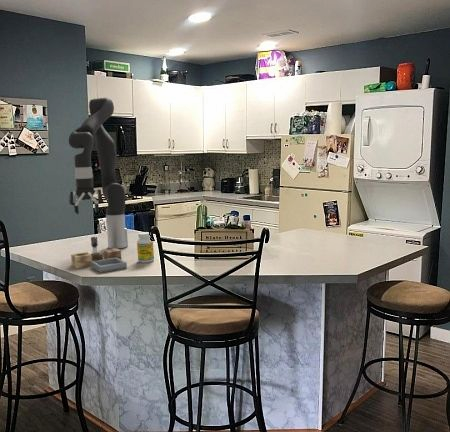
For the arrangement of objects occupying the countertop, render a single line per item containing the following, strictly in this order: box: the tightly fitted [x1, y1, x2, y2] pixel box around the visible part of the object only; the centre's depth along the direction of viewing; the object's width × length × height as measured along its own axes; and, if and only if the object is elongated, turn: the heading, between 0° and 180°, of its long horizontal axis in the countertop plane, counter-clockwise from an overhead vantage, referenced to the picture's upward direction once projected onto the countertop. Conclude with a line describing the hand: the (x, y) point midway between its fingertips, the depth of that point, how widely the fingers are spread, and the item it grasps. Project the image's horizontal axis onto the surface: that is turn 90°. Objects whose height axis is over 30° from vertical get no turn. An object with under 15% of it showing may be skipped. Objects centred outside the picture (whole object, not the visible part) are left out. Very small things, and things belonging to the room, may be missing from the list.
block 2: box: [103, 248, 122, 260], centre depth 229 cm, size 6×6×5 cm
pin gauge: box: [90, 236, 99, 255], centre depth 231 cm, size 3×3×11 cm
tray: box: [90, 258, 128, 274], centre depth 217 cm, size 12×12×3 cm
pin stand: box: [90, 252, 104, 261], centre depth 231 cm, size 5×5×3 cm
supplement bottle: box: [136, 231, 155, 263], centre depth 227 cm, size 7×7×13 cm
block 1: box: [70, 251, 92, 269], centre depth 223 cm, size 7×7×5 cm
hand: (86, 213), depth 227 cm, fingers open, 8 cm apart
